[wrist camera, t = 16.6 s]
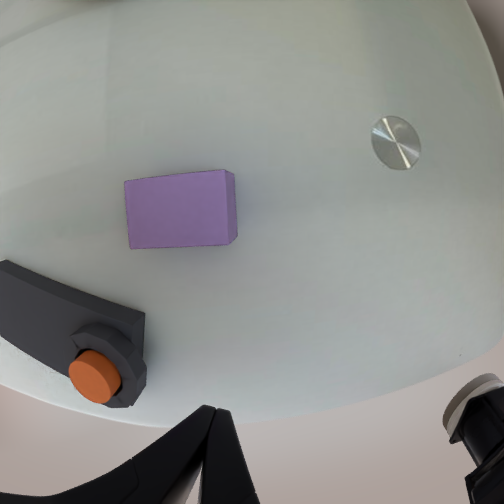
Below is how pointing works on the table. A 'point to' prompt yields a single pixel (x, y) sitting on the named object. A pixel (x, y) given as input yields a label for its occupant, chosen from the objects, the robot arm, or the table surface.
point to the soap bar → (181, 210)
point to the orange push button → (95, 376)
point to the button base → (71, 328)
